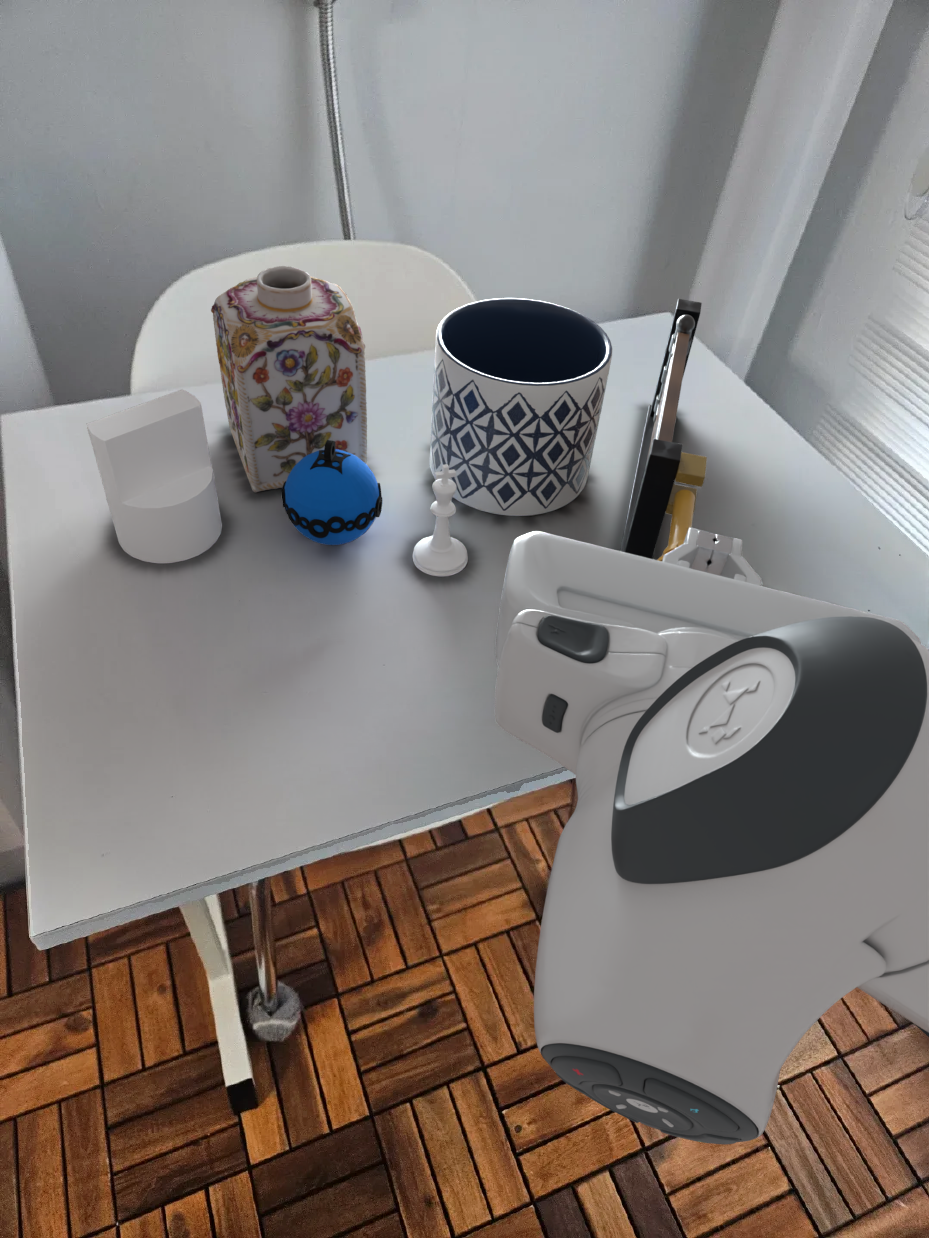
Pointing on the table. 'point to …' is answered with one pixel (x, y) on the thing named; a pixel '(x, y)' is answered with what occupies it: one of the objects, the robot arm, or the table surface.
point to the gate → (672, 381)
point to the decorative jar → (290, 371)
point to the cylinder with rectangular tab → (159, 478)
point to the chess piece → (441, 533)
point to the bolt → (680, 519)
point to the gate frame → (660, 468)
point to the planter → (517, 403)
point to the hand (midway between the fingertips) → (711, 542)
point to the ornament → (331, 496)
